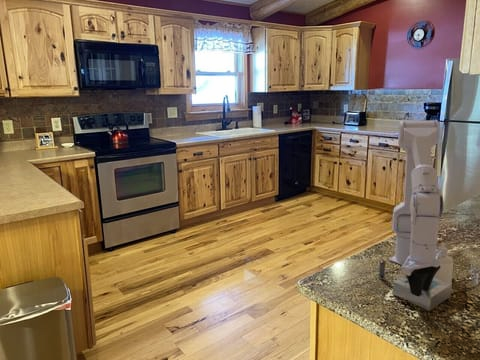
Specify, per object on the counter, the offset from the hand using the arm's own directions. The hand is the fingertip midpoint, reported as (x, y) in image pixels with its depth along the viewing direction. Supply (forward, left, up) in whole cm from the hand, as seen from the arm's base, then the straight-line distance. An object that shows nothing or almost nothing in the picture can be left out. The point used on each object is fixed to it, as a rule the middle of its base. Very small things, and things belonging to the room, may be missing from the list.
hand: (419, 292), depth 93 cm
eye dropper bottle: (-14, -2, -4) cm, 14 cm away
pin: (-5, -14, -3) cm, 15 cm away
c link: (-4, -2, -3) cm, 5 cm away
